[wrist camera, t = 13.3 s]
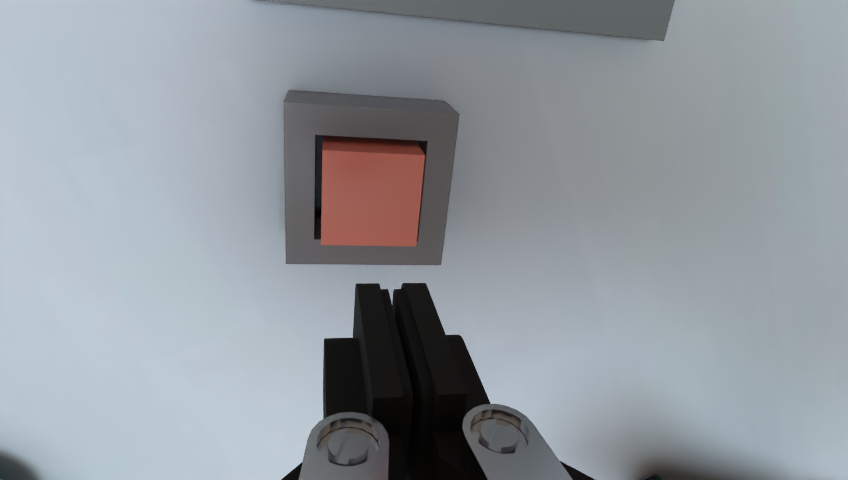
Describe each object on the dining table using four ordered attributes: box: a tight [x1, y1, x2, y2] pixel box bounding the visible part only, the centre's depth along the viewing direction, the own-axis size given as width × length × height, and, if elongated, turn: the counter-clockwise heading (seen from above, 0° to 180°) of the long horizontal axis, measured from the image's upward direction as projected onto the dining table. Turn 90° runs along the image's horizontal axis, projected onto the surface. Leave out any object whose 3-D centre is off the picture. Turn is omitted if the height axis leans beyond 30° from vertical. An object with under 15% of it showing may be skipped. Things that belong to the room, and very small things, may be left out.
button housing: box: [284, 90, 459, 265], centre depth 24 cm, size 7×7×3 cm
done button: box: [321, 135, 425, 246], centre depth 22 cm, size 4×4×3 cm
